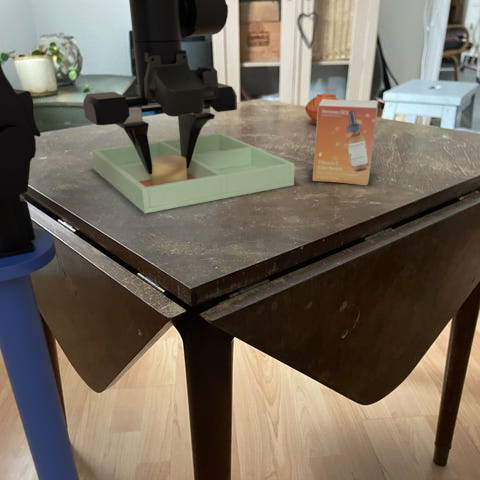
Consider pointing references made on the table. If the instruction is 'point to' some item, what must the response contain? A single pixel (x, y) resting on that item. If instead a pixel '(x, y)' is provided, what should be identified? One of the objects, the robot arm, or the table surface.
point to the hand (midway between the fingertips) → (168, 170)
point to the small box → (344, 141)
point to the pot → (313, 105)
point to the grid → (194, 172)
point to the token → (168, 169)
